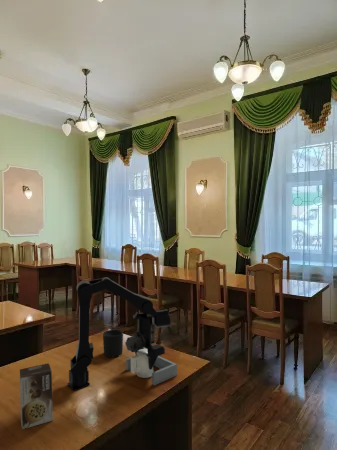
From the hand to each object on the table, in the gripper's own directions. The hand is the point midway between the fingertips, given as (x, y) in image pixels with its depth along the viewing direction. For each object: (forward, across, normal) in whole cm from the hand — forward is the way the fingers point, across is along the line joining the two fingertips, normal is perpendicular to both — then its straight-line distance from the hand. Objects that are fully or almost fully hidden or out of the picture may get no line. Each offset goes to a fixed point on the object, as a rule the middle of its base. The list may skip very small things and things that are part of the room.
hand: (145, 366), depth 132 cm
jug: (+3, 0, -2) cm, 3 cm away
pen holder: (+4, -27, +2) cm, 27 cm away
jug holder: (+3, 0, +3) cm, 5 cm away
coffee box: (+4, 0, -44) cm, 44 cm away
